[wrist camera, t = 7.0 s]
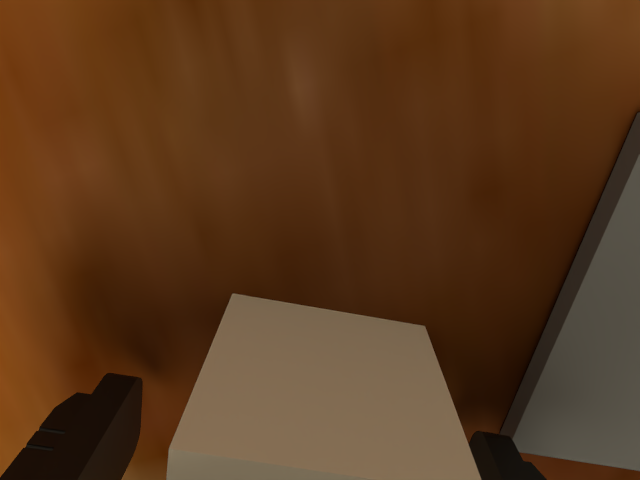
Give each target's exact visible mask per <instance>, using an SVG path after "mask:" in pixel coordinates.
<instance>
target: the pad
mask: <svg viewBox="0 0 640 480" xmlns="http://www.w3.org/2000/svg"><path fill="white" fill-rule="evenodd" d="M500 434H501V435H507V436H509V437H511V439H512V440H513V441H514V443H515V445H516V447H517V449H518V451H519V452H522V453H528V454H535V455H541V456H547V457H554V458H560V459H567V460H573V461H579V462H586V463H592V464H598V465H605V466H611V467H618V468H624V469H630V470H637V471H640V112H638V113H637V115H636V117H635V120H634V122H633V124H632V127H631V129H630V131H629V134H628V136H627V138H626V141H625V143H624V145H623V148H622V150H621V152H620V155H619V157H618V159H617V162H616V164H615V166H614V168H613V171H612V173H611V175H610V178H609V180H608V182H607V185H606V187H605V189H604V192H603V194H602V196H601V199H600V201H599V203H598V206H597V208H596V210H595V213H594V215H593V217H592V220H591V222H590V224H589V227H588V229H587V231H586V234H585V236H584V238H583V241H582V243H581V245H580V248H579V250H578V252H577V255H576V257H575V259H574V262H573V264H572V266H571V269H570V271H569V273H568V276H567V278H566V280H565V282H564V285H563V287H562V289H561V292H560V294H559V296H558V299H557V301H556V303H555V306H554V308H553V310H552V313H551V315H550V317H549V320H548V322H547V324H546V327H545V329H544V331H543V334H542V336H541V338H540V341H539V343H538V345H537V348H536V350H535V352H534V355H533V357H532V359H531V362H530V364H529V366H528V369H527V371H526V373H525V376H524V378H523V380H522V383H521V385H520V387H519V389H518V392H517V394H516V396H515V399H514V401H513V403H512V406H511V408H510V410H509V413H508V415H507V417H506V420H505V422H504V424H503V427H502V429H501V431H500Z"/></svg>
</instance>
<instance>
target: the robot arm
mask: <svg viewBox="0 0 640 480" xmlns="http://www.w3.org/2000/svg"><path fill="white" fill-rule="evenodd" d="M141 407H142V379H141V378H139V377H133V376H126V375H120V374H114V373H107V374H106V375H105V376H104V377H103V379H102V380H101V381H100V383H99V384H98V386H97V387H96V389H95V390H94V391H93V393H92V394H85V393H78V392H77V393H76V394H74V395H73V396H71V397H70V398H68V399H67V400H65V401H64V402H62V403H61V404H59V405H58V406H56V407H55V408H54V409H53V411H52V412H51V413H50V414H49V416H48V417H47V418H46V420H45V421H44V422H43V423H42V425H41V426H40V428H39V431H36V432H35V434H34V435H33V436H32V438H31V439H30V440H29V441H28V443H27V445H26V447H25V448H23V449H22V450H21V452H20V453H19V454H18V456H17V457H16V458H15V459H14V461H13V462H12V463H11V464H10V466H9V467H8V468H7V470H6V471H5V472H4V473H3V475H2V476H1V477H0V480H121V479H122V477H123V475H124V473H125V471H126V469H127V467H128V465H129V463H130V460H131V458H132V456H133V454H134V451H135V449H136V446H137V442H138V439H139V434H140V427H141ZM469 447H470V450H471V453H472V455H473V458H474V461H475V463H476V466H477V469H478V472H479V474H480V477H481V480H546V478H545V477H544V476H543V475H542V474H541V473H540V472H539V471H538V470H537V468H536V467H535V466H534V465H533V464H532V463H531V462H525V461H523V460H522V458H521V456H520V453H519V451H518V449H517V447H516V445H515V443H514V441H513V440H512V439H511V437H509V436H507V435H501V434H494V433H488V432H481V431H476V432H475V433H474V434H473V436H472V438H471V441H470V443H469Z"/></svg>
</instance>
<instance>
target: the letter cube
mask: <svg viewBox="0 0 640 480" xmlns="http://www.w3.org/2000/svg"><path fill="white" fill-rule="evenodd" d="M166 480H481V477H480V474H479V472H478V469H477V466H476V463H475V461H474V458H473V455H472V453H471V450H470V447H469V444H468V442H467V439H466V436H465V434H464V431H463V428H462V425H461V423H460V420H459V417H458V415H457V412H456V409H455V406H454V404H453V401H452V398H451V395H450V393H449V390H448V387H447V385H446V382H445V379H444V376H443V374H442V371H441V368H440V366H439V363H438V360H437V357H436V355H435V352H434V349H433V347H432V344H431V341H430V338H429V336H428V333H427V330H426V328H425V326H422V325H416V324H410V323H405V322H399V321H393V320H387V319H381V318H375V317H369V316H363V315H357V314H351V313H346V312H340V311H334V310H328V309H322V308H316V307H310V306H304V305H298V304H293V303H287V302H281V301H275V300H269V299H263V298H257V297H251V296H245V295H240V294H234V293H232V296H231V298H230V301H229V303H228V305H227V308H226V310H225V313H224V315H223V318H222V320H221V323H220V325H219V327H218V330H217V332H216V335H215V337H214V340H213V342H212V345H211V347H210V349H209V352H208V354H207V357H206V359H205V362H204V364H203V366H202V369H201V371H200V374H199V376H198V379H197V381H196V384H195V386H194V388H193V391H192V393H191V396H190V398H189V401H188V403H187V406H186V408H185V410H184V413H183V415H182V418H181V420H180V423H179V425H178V427H177V430H176V432H175V435H174V437H173V440H172V442H171V445H170V447H169V453H168V465H167V478H166Z"/></svg>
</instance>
